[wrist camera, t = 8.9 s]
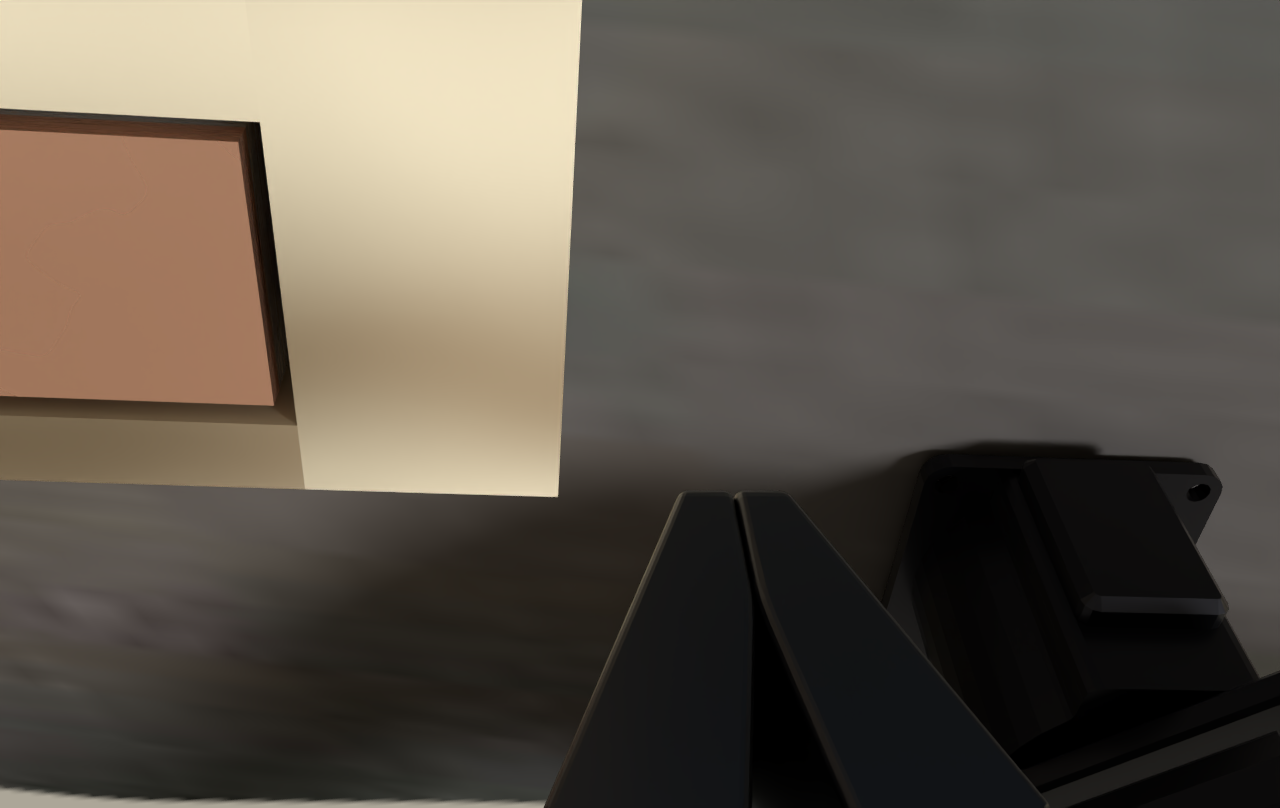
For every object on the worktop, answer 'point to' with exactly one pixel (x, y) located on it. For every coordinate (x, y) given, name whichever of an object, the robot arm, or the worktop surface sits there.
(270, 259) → the peg
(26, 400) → the socket block
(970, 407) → the worktop surface
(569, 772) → the robot arm
